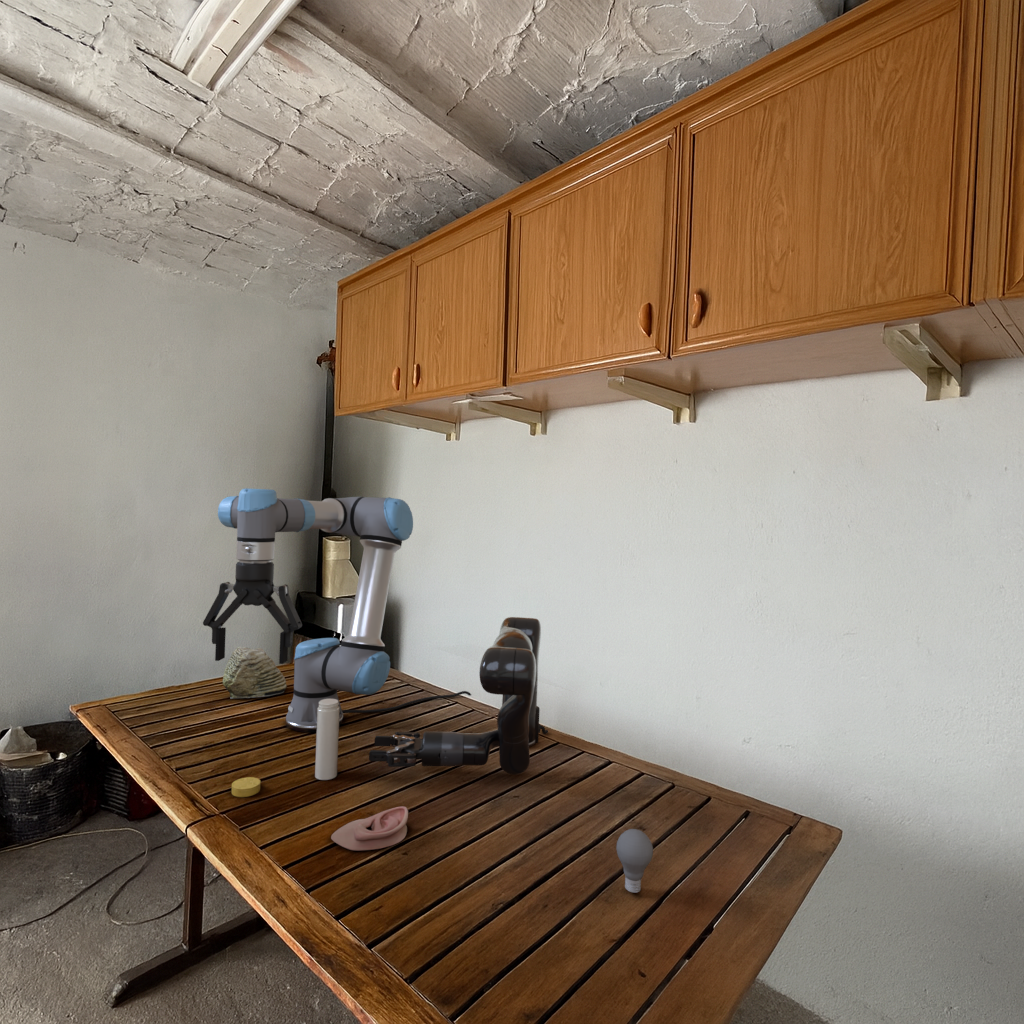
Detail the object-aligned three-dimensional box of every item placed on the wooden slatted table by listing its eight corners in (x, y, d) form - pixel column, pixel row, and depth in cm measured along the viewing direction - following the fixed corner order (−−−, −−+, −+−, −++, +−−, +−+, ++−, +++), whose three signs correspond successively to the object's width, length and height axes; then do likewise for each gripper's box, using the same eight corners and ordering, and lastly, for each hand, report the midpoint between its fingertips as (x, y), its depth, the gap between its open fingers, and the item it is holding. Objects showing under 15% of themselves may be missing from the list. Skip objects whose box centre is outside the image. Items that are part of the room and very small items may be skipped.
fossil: (218, 695, 195) (220, 647, 195) (278, 685, 208) (279, 640, 207) (228, 703, 189) (230, 653, 188) (289, 692, 201) (290, 645, 201)
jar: (327, 769, 147) (330, 696, 147) (341, 774, 145) (344, 701, 144) (310, 775, 143) (313, 701, 143) (324, 782, 141) (327, 706, 140)
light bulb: (610, 879, 108) (613, 822, 108) (644, 879, 109) (647, 822, 109) (619, 902, 102) (622, 840, 102) (655, 901, 103) (658, 840, 103)
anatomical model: (323, 824, 115) (352, 795, 126) (322, 845, 115) (351, 815, 126) (392, 835, 112) (415, 805, 123) (391, 857, 112) (414, 825, 123)
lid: (246, 782, 139) (247, 775, 139) (266, 788, 136) (266, 780, 136) (225, 793, 134) (225, 785, 134) (244, 799, 131) (245, 791, 131)
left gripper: (187, 560, 131) (184, 662, 131) (307, 565, 130) (303, 668, 131) (205, 557, 138) (202, 653, 139) (319, 562, 138) (315, 659, 138)
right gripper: (444, 721, 153) (376, 720, 152) (443, 744, 139) (368, 744, 138) (443, 752, 153) (375, 751, 152) (441, 778, 139) (366, 778, 138)
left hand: (251, 660), depth 135 cm, fingers open, 13 cm apart
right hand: (372, 748), depth 145 cm, fingers open, 8 cm apart
